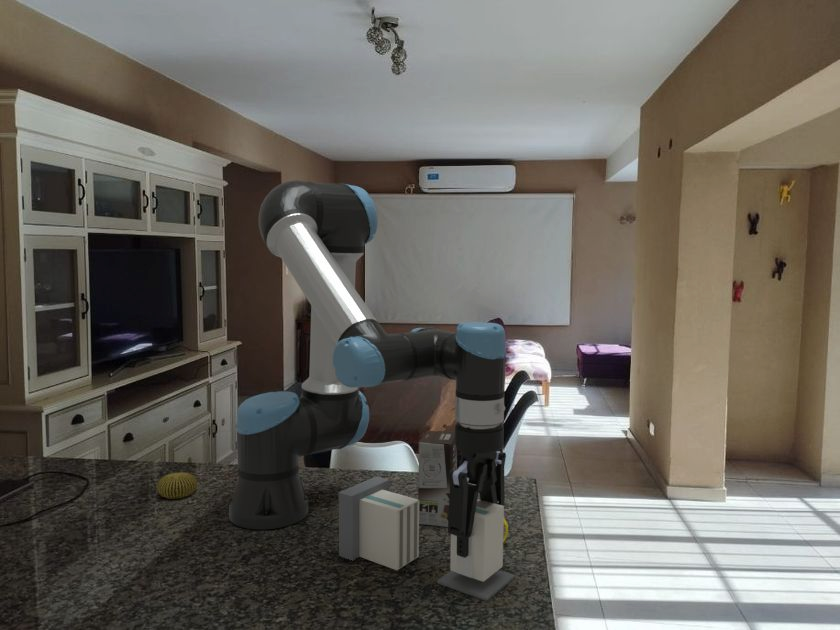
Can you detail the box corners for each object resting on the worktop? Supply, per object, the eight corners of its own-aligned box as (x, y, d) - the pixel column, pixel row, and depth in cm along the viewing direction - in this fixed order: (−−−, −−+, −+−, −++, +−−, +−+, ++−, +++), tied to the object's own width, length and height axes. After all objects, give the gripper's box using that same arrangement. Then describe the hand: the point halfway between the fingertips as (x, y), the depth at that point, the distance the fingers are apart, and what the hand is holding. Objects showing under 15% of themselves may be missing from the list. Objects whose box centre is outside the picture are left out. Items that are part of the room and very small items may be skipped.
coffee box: (450, 527, 125) (451, 444, 123) (416, 524, 126) (417, 441, 124) (457, 509, 134) (458, 431, 132) (425, 506, 135) (426, 428, 133)
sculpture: (193, 467, 145) (200, 478, 138) (193, 485, 146) (200, 497, 139) (154, 473, 142) (159, 485, 135) (154, 491, 142) (160, 504, 135)
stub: (450, 570, 104) (451, 508, 103) (470, 556, 109) (471, 496, 108) (483, 581, 101) (484, 517, 100) (502, 566, 105) (504, 505, 104)
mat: (436, 583, 104) (436, 580, 104) (467, 561, 111) (467, 559, 111) (486, 601, 99) (486, 598, 99) (515, 577, 106) (515, 575, 106)
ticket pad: (334, 554, 113) (334, 491, 112) (371, 534, 121) (372, 475, 120) (389, 575, 106) (390, 507, 105) (425, 552, 114) (426, 489, 113)
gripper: (467, 441, 93) (464, 598, 95) (529, 414, 108) (525, 550, 110) (423, 432, 97) (422, 583, 99) (488, 407, 112) (486, 538, 115)
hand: (476, 565), depth 105 cm, fingers closed on stub, 6 cm apart
